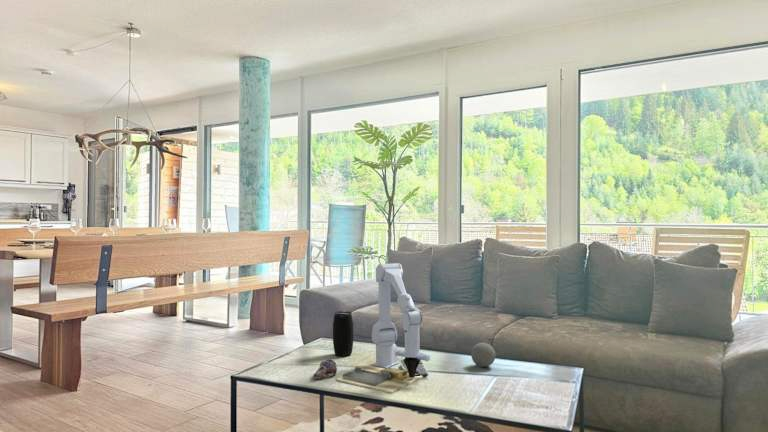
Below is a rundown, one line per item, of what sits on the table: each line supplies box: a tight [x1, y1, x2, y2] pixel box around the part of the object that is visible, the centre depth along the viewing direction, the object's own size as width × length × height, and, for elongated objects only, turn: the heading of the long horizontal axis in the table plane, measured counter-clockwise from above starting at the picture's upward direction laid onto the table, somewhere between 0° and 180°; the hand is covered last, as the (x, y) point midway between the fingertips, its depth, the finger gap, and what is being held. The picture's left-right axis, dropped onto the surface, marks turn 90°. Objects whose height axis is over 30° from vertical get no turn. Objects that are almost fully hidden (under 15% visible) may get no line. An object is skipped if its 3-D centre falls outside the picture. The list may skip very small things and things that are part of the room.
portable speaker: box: [332, 310, 354, 358], centre depth 239 cm, size 9×9×20 cm
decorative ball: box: [470, 342, 496, 368], centre depth 219 cm, size 10×10×10 cm
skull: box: [312, 358, 338, 381], centre depth 206 cm, size 12×8×6 cm, turn 144°
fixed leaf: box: [341, 366, 392, 386], centre depth 201 cm, size 10×17×2 cm, turn 56°
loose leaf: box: [377, 367, 409, 381], centre depth 205 cm, size 8×12×3 cm
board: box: [335, 365, 424, 394], centre depth 203 cm, size 22×26×1 cm
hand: (412, 377), depth 201 cm, fingers closed
